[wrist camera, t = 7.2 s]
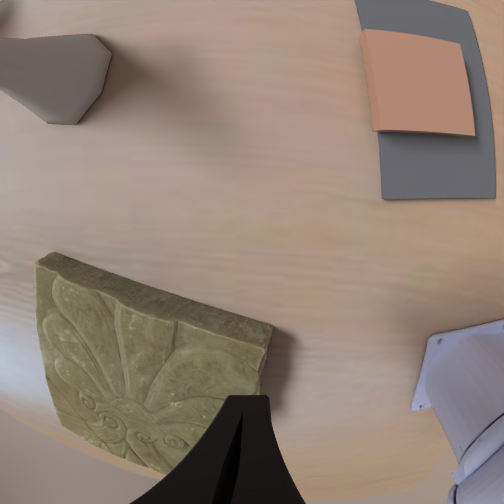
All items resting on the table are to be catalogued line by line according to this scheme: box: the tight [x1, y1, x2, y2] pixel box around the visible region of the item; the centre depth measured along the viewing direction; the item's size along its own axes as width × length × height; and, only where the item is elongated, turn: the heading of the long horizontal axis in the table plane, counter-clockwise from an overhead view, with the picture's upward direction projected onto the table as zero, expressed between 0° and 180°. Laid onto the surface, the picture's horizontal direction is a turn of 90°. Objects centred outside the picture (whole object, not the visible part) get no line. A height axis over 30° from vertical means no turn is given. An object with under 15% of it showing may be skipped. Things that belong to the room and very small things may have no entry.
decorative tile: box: [34, 252, 273, 475], centre depth 22 cm, size 19×20×4 cm
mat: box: [355, 0, 495, 200], centre depth 14 cm, size 9×14×1 cm, turn 6°
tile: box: [359, 29, 475, 136], centre depth 14 cm, size 2×6×6 cm
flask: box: [0, 34, 112, 125], centre depth 11 cm, size 7×7×10 cm
